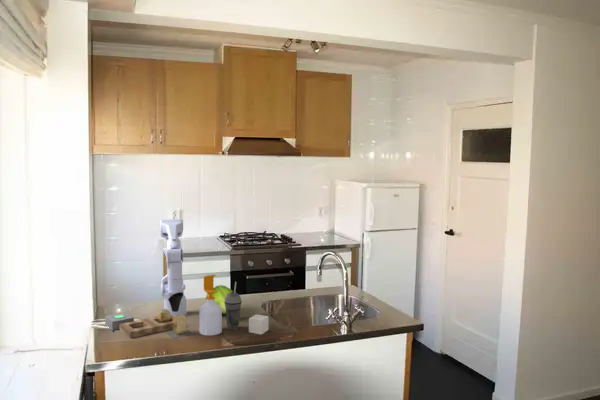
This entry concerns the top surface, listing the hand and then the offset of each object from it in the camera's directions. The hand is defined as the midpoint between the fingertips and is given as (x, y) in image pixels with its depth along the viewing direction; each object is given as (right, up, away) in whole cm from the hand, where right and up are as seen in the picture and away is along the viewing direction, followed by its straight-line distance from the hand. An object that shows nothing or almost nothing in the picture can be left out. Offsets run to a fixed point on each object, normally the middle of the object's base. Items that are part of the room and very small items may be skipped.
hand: (175, 311), depth 208 cm
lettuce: (+15, -8, +27) cm, 31 cm away
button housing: (-26, -8, +9) cm, 29 cm away
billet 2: (+2, -9, 0) cm, 9 cm away
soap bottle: (+14, -10, +3) cm, 17 cm away
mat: (+2, -10, 0) cm, 10 cm away
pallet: (-11, -9, +5) cm, 15 cm away
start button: (-26, -7, +9) cm, 28 cm away
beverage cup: (+22, -9, +8) cm, 26 cm away
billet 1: (-7, -9, +9) cm, 14 cm away
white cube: (+33, -10, +5) cm, 35 cm away
